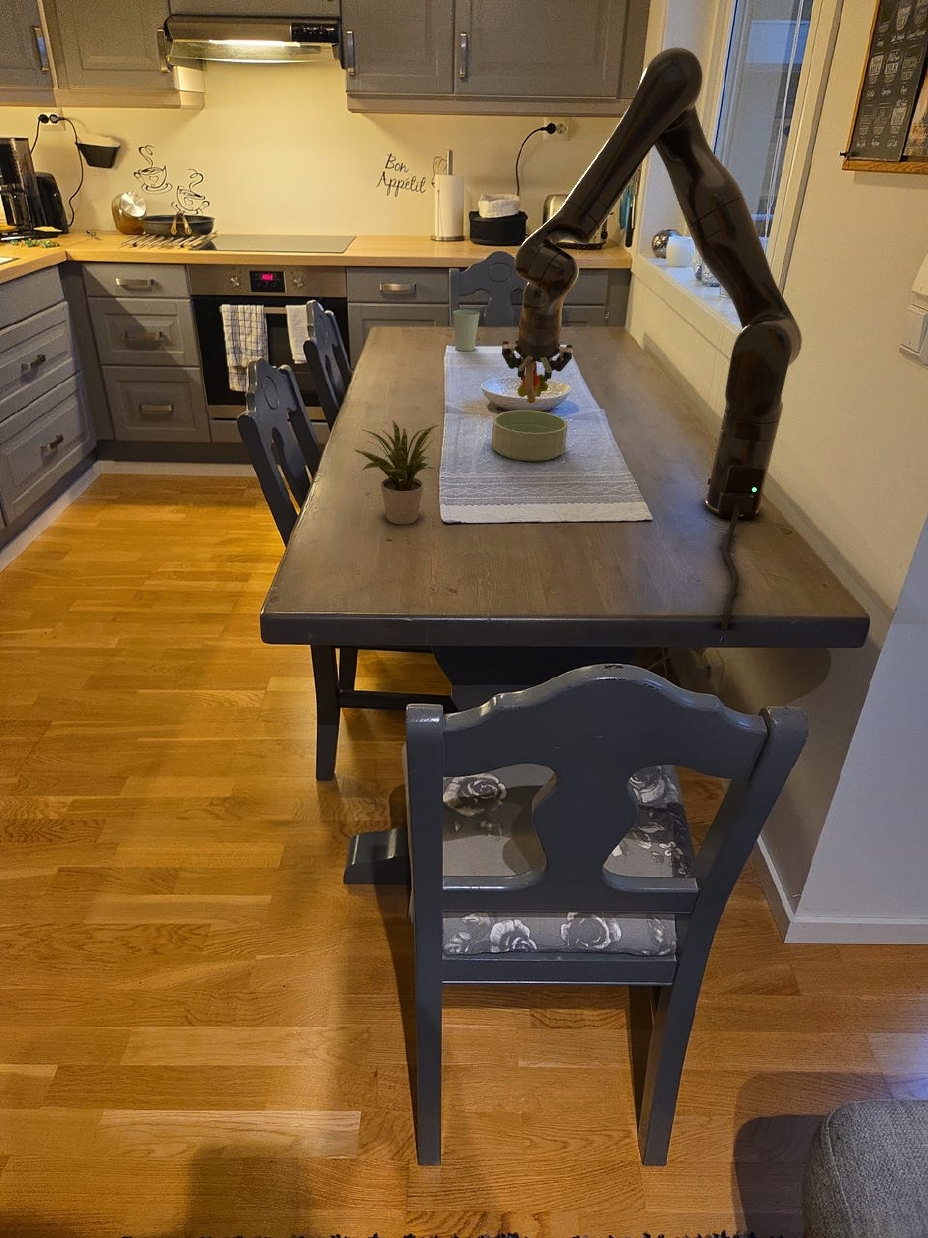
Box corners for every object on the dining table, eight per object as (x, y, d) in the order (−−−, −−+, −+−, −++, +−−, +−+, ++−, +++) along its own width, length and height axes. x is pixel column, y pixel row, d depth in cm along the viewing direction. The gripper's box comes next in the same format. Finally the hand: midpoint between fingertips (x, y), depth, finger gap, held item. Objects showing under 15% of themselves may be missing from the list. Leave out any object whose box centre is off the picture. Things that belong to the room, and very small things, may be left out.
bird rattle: (546, 414, 167) (548, 385, 172) (549, 368, 158) (552, 338, 163) (514, 412, 168) (518, 383, 173) (516, 366, 159) (520, 337, 164)
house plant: (403, 492, 152) (403, 403, 143) (462, 514, 144) (465, 421, 136) (346, 515, 142) (342, 421, 134) (405, 539, 135) (406, 442, 126)
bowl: (565, 464, 167) (568, 435, 164) (489, 460, 168) (491, 430, 165) (563, 439, 180) (565, 412, 177) (492, 435, 181) (494, 408, 178)
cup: (446, 349, 246) (448, 312, 241) (459, 344, 252) (461, 308, 247) (469, 353, 243) (471, 315, 238) (482, 348, 249) (484, 311, 244)
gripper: (580, 310, 152) (570, 362, 169) (502, 306, 153) (500, 357, 169) (578, 347, 150) (568, 395, 167) (499, 342, 151) (497, 391, 167)
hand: (534, 376), depth 168 cm, fingers closed on bird rattle, 4 cm apart
